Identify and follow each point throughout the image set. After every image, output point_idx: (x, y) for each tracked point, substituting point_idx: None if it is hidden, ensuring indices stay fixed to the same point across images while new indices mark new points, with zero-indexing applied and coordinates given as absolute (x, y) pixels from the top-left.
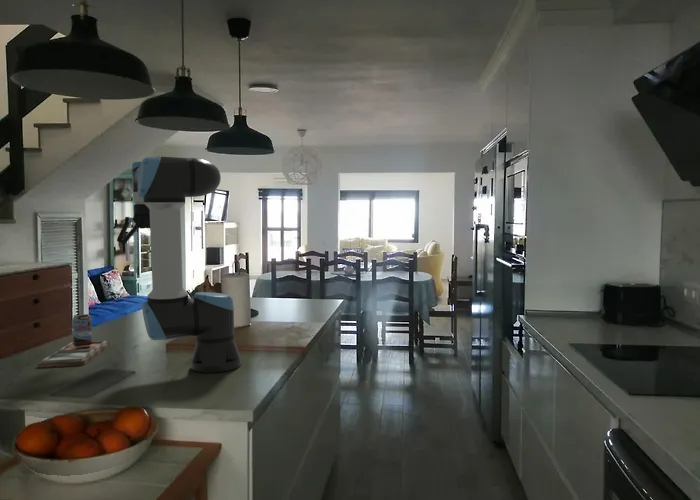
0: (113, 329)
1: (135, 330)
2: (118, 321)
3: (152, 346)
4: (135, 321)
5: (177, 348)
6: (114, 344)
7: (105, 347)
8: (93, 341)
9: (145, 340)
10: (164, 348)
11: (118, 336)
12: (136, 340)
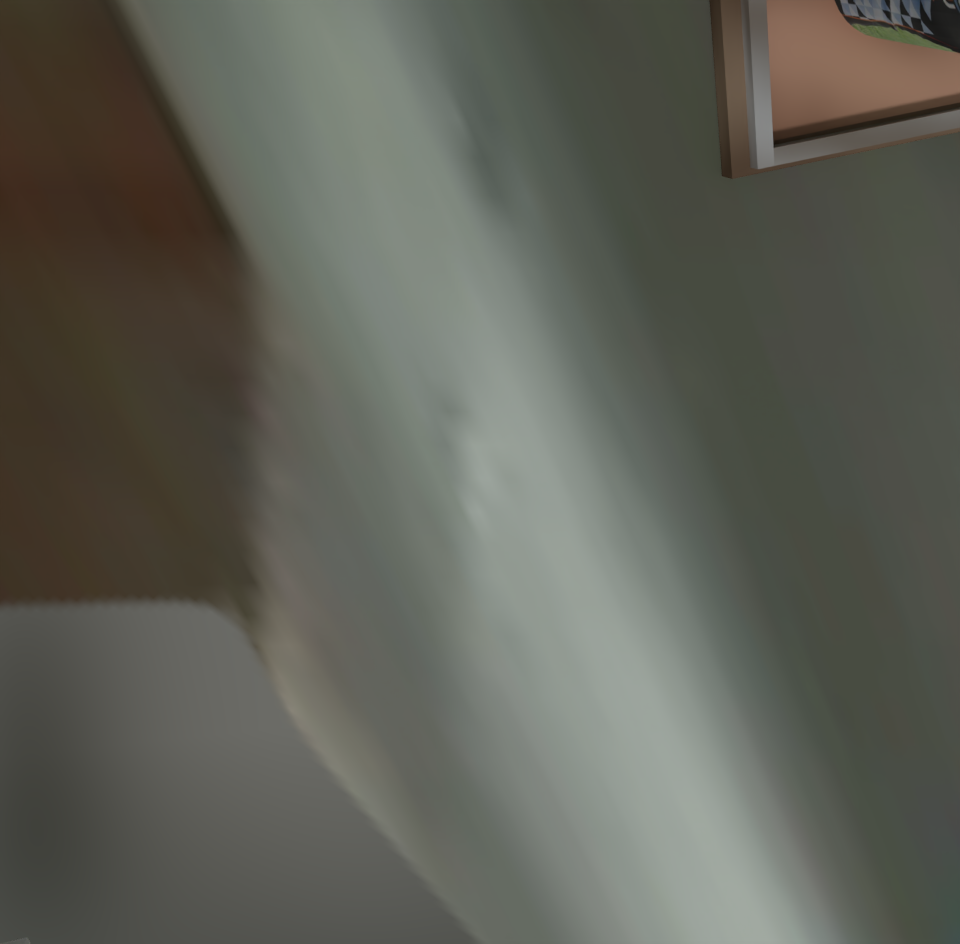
0: (894, 706)
1: (717, 685)
2: (941, 918)
3: (325, 148)
4: (822, 927)
5: (38, 61)
6: (700, 228)
7: (718, 58)
8: (867, 142)
9: (492, 370)
10: (169, 64)
11: (774, 499)
12: (570, 369)
